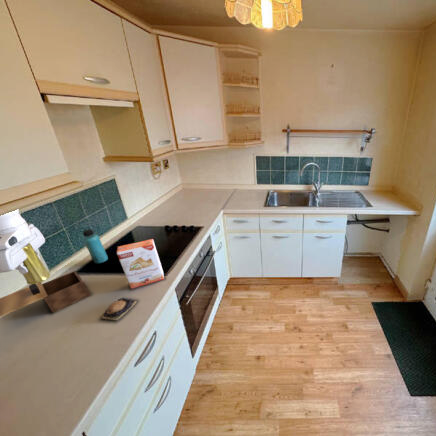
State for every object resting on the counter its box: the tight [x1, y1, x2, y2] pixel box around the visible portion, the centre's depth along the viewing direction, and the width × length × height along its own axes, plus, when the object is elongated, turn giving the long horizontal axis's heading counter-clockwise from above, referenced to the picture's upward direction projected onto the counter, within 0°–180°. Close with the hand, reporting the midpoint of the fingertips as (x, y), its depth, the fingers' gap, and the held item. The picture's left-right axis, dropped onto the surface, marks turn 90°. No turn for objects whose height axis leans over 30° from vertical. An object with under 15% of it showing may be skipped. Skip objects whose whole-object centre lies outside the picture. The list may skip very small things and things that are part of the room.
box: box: [42, 270, 91, 314], centre depth 100 cm, size 13×13×8 cm
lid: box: [0, 282, 48, 318], centre depth 90 cm, size 13×13×3 cm
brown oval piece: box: [101, 297, 137, 322], centre depth 95 cm, size 11×8×4 cm
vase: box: [22, 243, 51, 285], centre depth 81 cm, size 6×6×14 cm
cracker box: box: [116, 238, 165, 290], centre depth 107 cm, size 14×6×21 cm, turn 119°
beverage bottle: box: [82, 229, 109, 264], centre depth 121 cm, size 6×7×20 cm
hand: (31, 266), depth 82 cm, fingers closed on vase, 5 cm apart
